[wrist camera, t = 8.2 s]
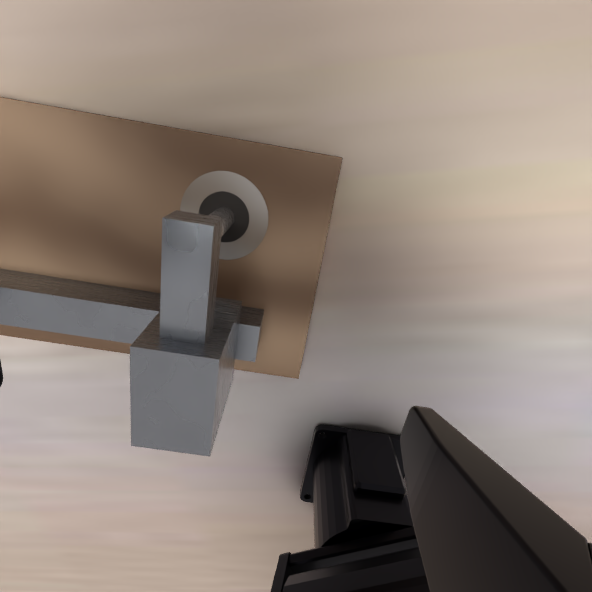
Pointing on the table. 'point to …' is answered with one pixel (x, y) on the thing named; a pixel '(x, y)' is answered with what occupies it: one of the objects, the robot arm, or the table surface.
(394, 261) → the table surface
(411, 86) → the table surface
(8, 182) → the hole plate
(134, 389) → the beam
